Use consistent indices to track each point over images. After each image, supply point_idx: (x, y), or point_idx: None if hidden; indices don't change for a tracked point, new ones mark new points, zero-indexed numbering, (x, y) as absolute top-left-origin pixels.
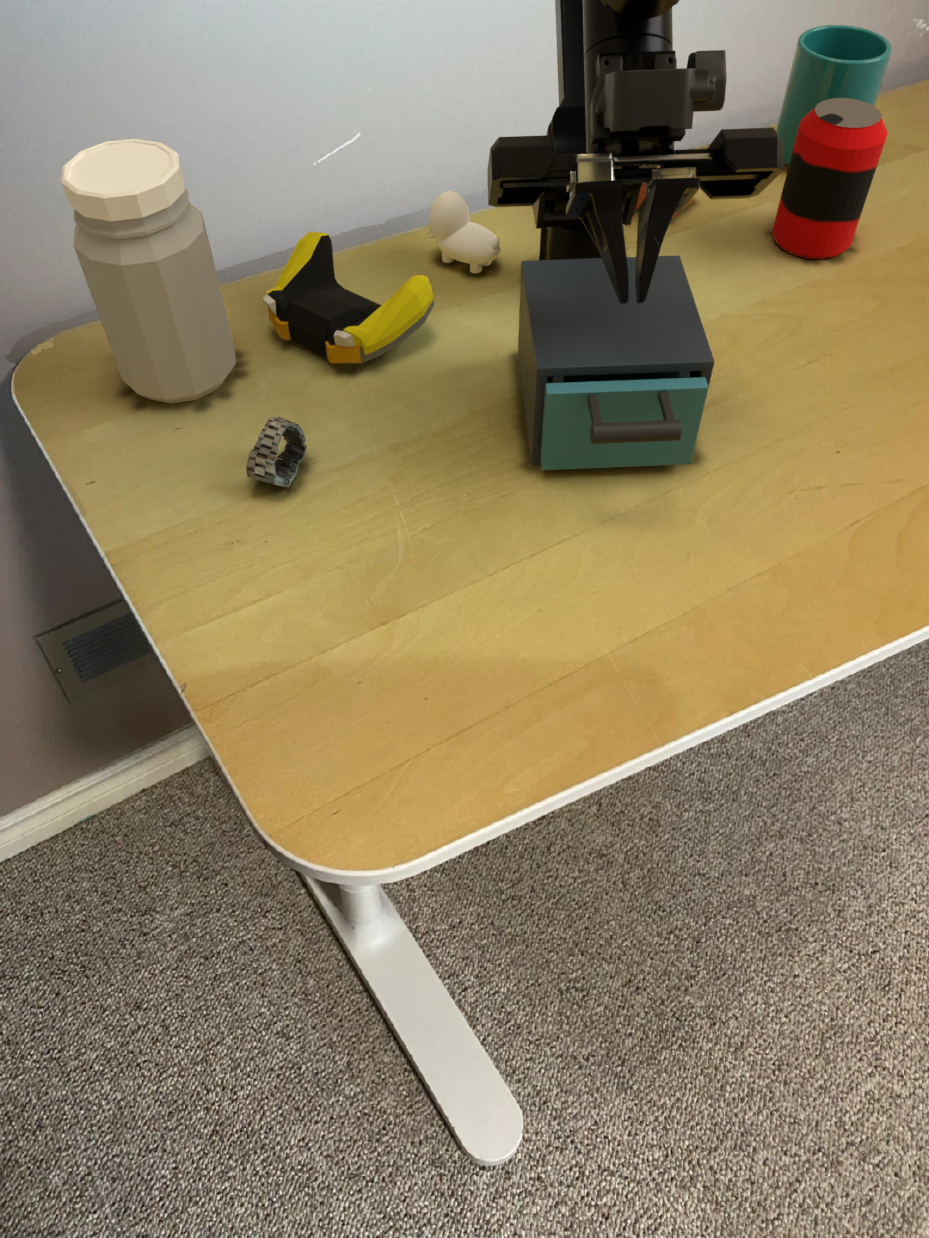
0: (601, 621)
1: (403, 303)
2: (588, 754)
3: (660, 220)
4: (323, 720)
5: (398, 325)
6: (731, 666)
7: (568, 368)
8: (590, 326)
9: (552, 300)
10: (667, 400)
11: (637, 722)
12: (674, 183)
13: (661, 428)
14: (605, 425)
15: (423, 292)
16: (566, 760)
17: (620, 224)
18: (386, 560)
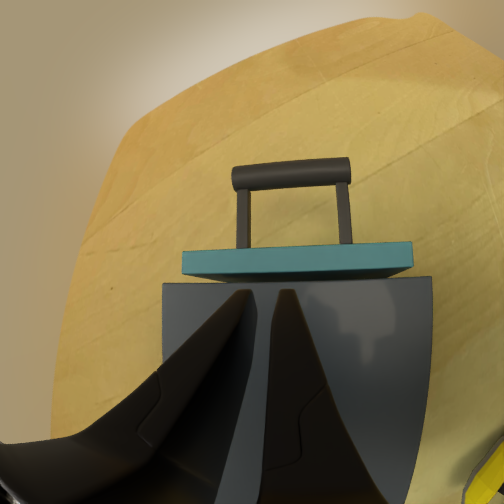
0: (330, 103)
1: (498, 475)
2: (336, 33)
3: (122, 429)
4: (480, 62)
5: (501, 454)
6: (243, 81)
7: (384, 278)
8: (334, 387)
9: (381, 452)
10: (239, 228)
11: (307, 46)
12: (7, 471)
13: (257, 165)
14: (332, 166)
15: (478, 492)
16: (348, 31)
17: (273, 452)
18: (494, 168)
